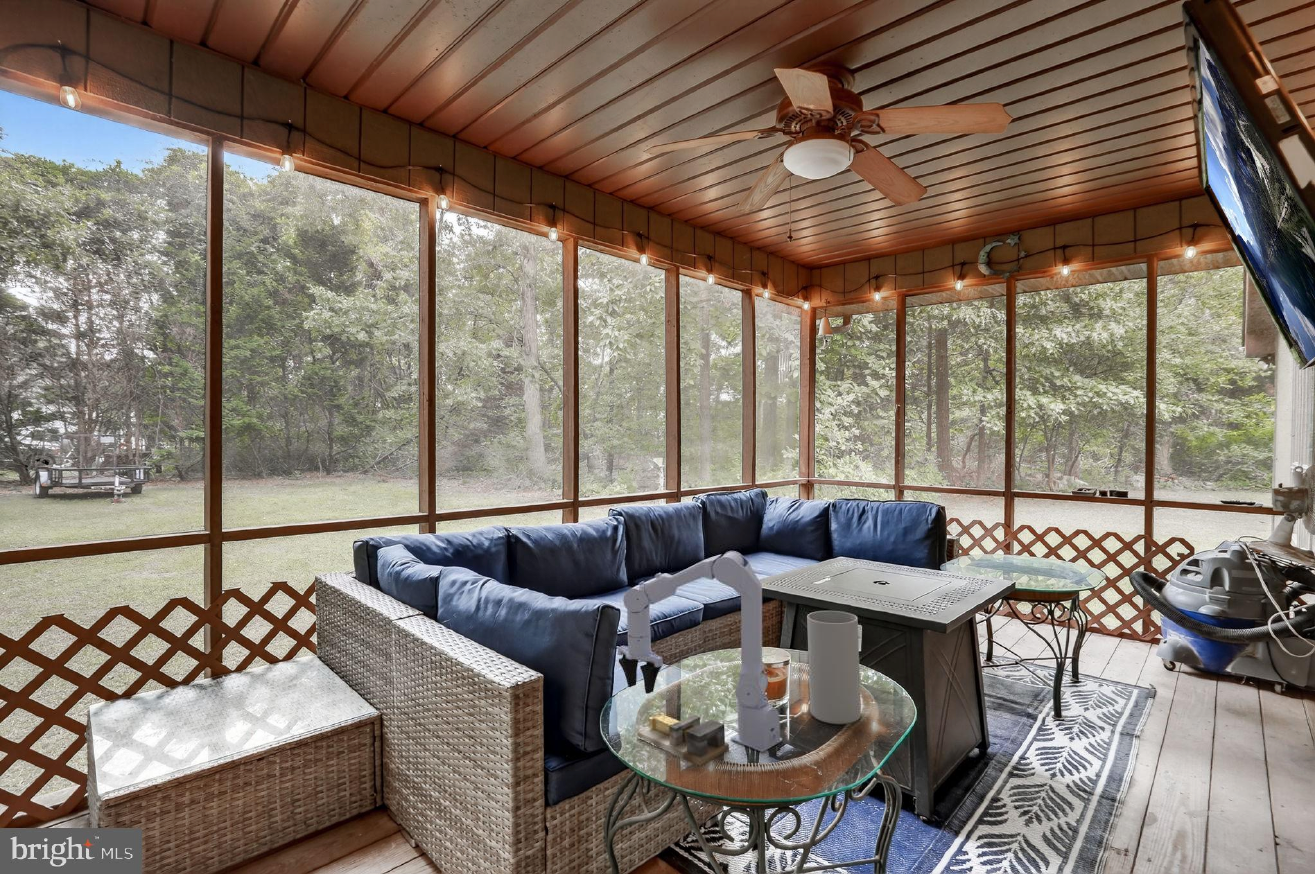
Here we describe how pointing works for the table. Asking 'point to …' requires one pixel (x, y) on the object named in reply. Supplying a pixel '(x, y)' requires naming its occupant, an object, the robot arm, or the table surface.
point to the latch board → (690, 739)
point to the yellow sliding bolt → (665, 724)
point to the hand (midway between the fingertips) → (640, 689)
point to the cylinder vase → (834, 666)
